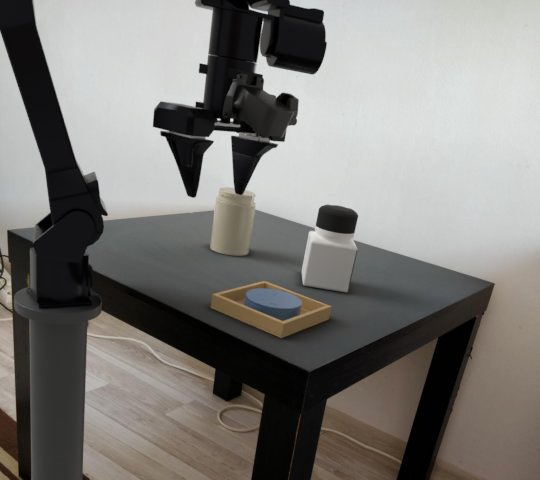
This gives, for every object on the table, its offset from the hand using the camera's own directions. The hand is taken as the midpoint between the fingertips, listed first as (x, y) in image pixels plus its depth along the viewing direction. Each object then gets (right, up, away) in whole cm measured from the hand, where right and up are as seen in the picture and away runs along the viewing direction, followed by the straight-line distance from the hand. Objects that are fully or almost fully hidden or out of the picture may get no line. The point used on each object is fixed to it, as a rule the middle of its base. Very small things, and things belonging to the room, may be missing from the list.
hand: (216, 195), depth 74 cm
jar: (0, -2, +27) cm, 27 cm away
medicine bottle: (+15, -9, +19) cm, 26 cm away
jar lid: (+7, -13, +1) cm, 15 cm away
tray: (+7, -15, +2) cm, 17 cm away
